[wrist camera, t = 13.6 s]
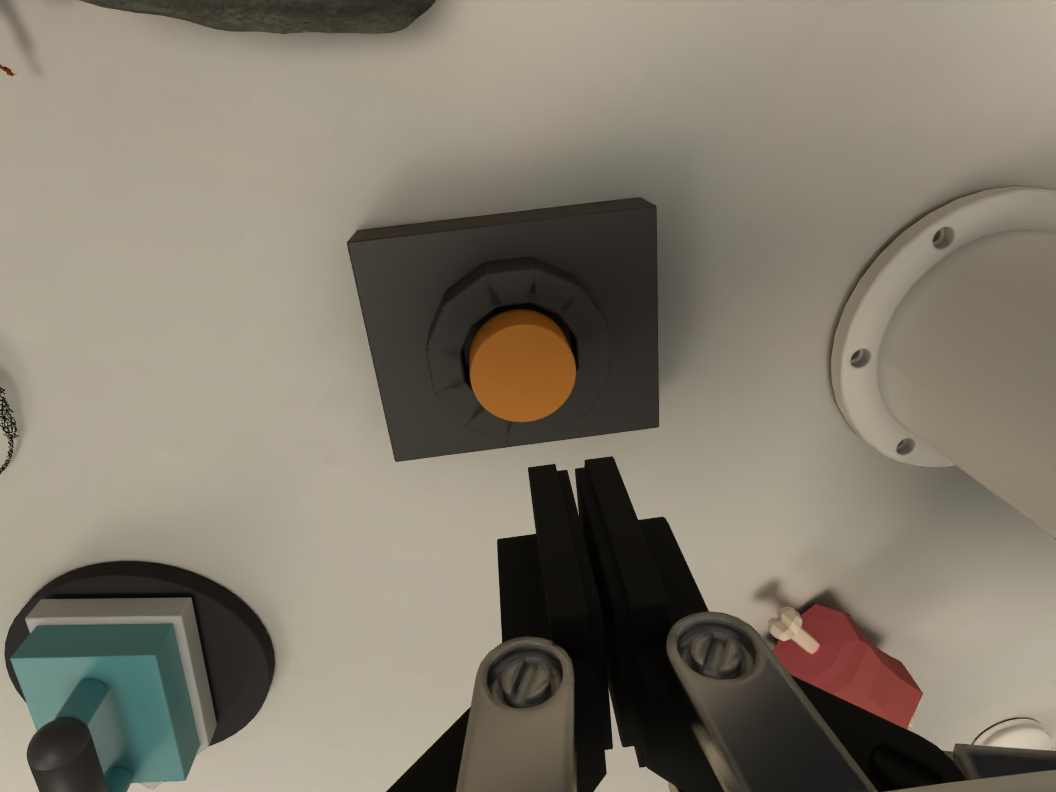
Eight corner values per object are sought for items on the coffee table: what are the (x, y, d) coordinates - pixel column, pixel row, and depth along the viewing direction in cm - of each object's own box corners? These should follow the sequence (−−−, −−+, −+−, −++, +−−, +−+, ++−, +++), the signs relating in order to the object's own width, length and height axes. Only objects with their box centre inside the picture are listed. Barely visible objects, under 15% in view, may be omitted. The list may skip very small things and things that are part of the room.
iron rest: (235, 544, 29) (228, 558, 29) (300, 719, 35) (296, 736, 34) (-29, 580, 29) (-45, 596, 28) (77, 752, 34) (66, 770, 33)
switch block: (641, 197, 24) (672, 213, 21) (645, 404, 28) (672, 449, 25) (356, 230, 24) (336, 253, 20) (400, 436, 28) (390, 487, 24)
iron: (40, 598, 28) (-72, 729, 22) (192, 596, 29) (122, 723, 23) (96, 770, 33) (17, 915, 27) (225, 765, 34) (175, 905, 28)
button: (565, 302, 22) (572, 317, 21) (572, 394, 24) (579, 415, 22) (463, 315, 22) (462, 331, 20) (476, 406, 24) (477, 429, 22)
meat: (775, 687, 29) (846, 607, 29) (719, 626, 34) (780, 557, 34) (910, 792, 33) (972, 722, 33) (843, 724, 38) (898, 662, 38)
